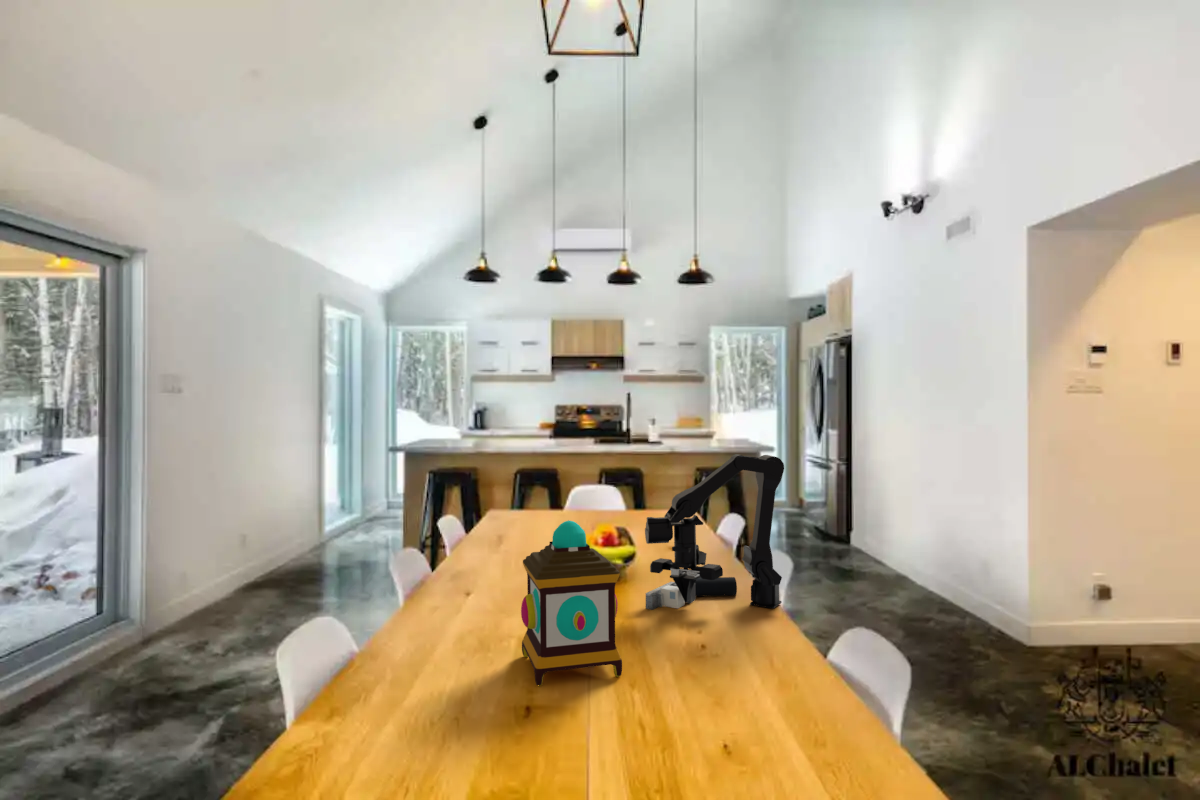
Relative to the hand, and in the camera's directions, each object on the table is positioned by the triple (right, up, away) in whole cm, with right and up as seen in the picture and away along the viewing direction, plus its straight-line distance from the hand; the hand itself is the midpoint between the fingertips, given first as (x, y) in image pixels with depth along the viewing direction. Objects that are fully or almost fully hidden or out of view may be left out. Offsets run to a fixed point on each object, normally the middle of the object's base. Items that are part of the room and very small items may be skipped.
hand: (686, 601), depth 182 cm
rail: (-6, -2, +5) cm, 8 cm away
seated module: (0, -2, +7) cm, 7 cm away
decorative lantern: (-29, -2, -40) cm, 49 cm away
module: (-3, -2, +2) cm, 4 cm away
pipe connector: (+7, -2, +15) cm, 17 cm away
